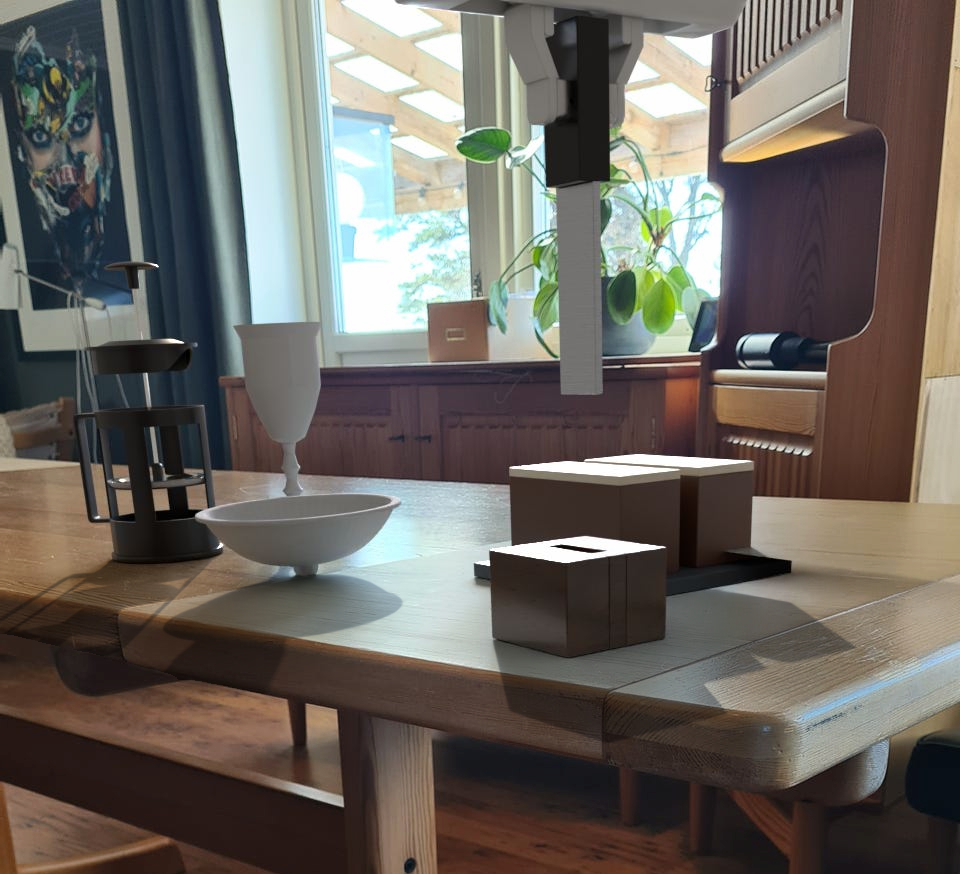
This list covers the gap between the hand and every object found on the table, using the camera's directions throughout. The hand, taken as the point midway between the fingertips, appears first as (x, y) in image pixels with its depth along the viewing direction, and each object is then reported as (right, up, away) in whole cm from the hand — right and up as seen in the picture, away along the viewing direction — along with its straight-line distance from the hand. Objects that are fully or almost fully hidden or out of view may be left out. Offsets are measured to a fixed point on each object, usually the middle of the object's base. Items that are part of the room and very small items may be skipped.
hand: (577, 126), depth 64 cm
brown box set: (+6, -16, +28) cm, 33 cm away
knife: (+1, -12, +5) cm, 13 cm away
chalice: (-21, -10, +47) cm, 53 cm away
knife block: (+1, -24, +9) cm, 26 cm away
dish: (-18, -15, +34) cm, 41 cm away
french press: (-32, -11, +47) cm, 58 cm away
